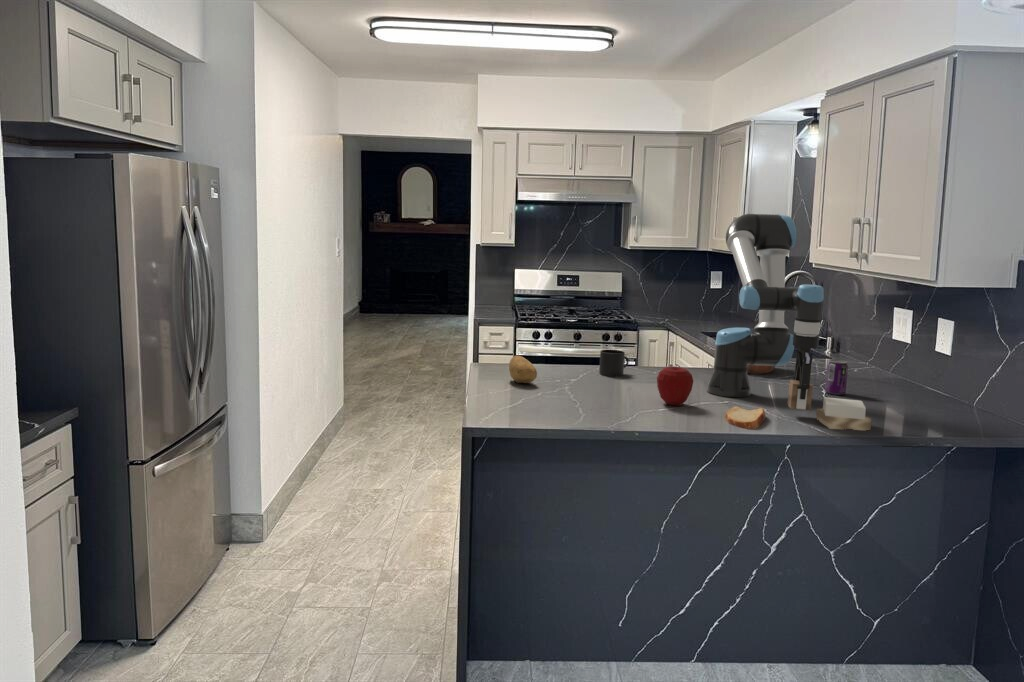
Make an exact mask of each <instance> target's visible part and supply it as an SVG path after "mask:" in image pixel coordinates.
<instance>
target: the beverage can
mask: <svg viewBox="0 0 1024 682" xmlns="http://www.w3.org/2000/svg"><path fill="white" fill-rule="evenodd" d="M828 361H829V362H828V364H827V366H826V377H825V385H824V392H826V393H828V394H829V395H834V396H841V395H844V394H846V393H847V384H848V383H847V382H848V375H849V374H848V373H849V366H848V361H846V360H840V359H829V360H828Z"/></svg>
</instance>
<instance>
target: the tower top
mask: <svg viewBox="0 0 1024 682" xmlns="http://www.w3.org/2000/svg"><path fill="white" fill-rule="evenodd" d="M822 409H823V410H824V413H825V416H833V417H843V418H853V419H863V420H865V416H866V411H867V410H866V409H867V408H866V405H865V404H864V403H863V401H862V400H858V399H848V398H839V397H838V398H837V397H836V398H835V397H825V396H824V397H823V404H822Z"/></svg>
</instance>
